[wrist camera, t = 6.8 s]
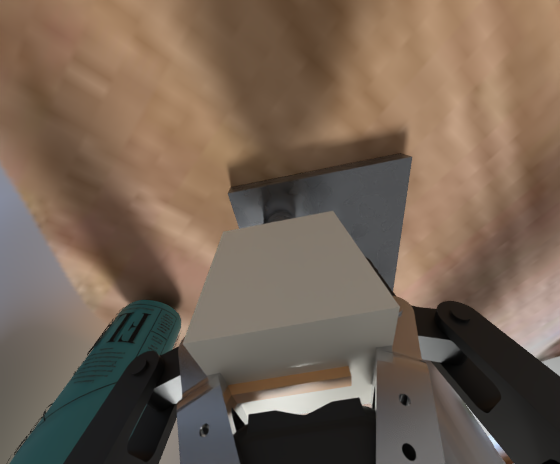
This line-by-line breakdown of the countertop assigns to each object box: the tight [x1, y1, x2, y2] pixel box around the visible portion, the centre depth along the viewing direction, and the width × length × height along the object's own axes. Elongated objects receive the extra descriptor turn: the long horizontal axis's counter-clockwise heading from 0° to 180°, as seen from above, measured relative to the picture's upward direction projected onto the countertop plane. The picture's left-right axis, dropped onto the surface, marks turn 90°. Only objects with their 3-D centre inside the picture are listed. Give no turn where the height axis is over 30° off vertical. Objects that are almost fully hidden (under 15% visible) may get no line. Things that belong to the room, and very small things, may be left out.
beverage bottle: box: [10, 300, 181, 464], centre depth 15 cm, size 6×7×20 cm
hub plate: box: [228, 153, 412, 291], centre depth 18 cm, size 14×16×6 cm
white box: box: [183, 211, 400, 418], centre depth 10 cm, size 6×6×6 cm
